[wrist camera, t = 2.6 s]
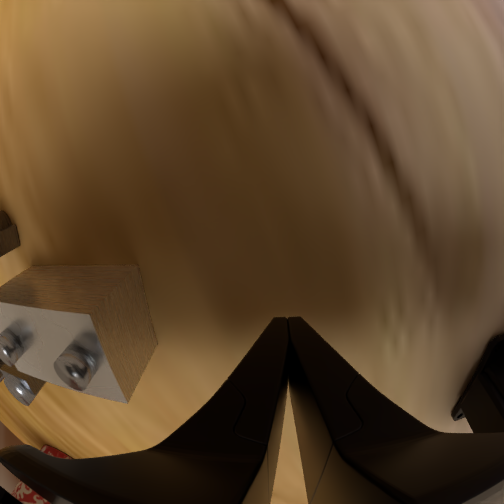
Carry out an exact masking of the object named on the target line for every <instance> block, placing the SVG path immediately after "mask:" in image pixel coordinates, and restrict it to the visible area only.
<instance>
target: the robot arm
mask: <svg viewBox="0 0 504 504" xmlns="http://www.w3.org/2000/svg"><path fill="white" fill-rule="evenodd" d="M288 384H289V391H290V397H291V403H292V408H293V414H294V420H295V426H296V432H297V438H298V443H299V449H300V455H301V461H302V467H303V474H304V480H305V486H306V492H307V498H308V504H504V334H503V335H500V336H497V337H495V338H494V339H493V340H492V341H491V342H490V344H489V345H488V348H487V350H486V352H485V354H484V356H483V358H482V361H481V363H480V365H479V367H478V369H477V371H476V373H475V375H474V377H473V378H472V380H471V382H470V384H469V386H468V388H467V389H466V391H465V393H464V395H463V396H462V398H461V400H460V401H459V403H458V405H457V406H456V408H455V410H454V411H453V413H452V415H451V416H452V418H453V420H454V421H457V420H459V419H462V418H465V417H466V419H467V421H468V423H469V425H470V427H471V429H472V431H473V433H444V432H439V431H437V430H434V429H432V428H430V427H428V426H426V425H425V424H423V423H421V422H420V421H419V420H417V419H416V418H414V417H413V416H412V415H410V414H409V413H407V412H406V411H405V410H403V409H402V408H400V407H399V406H398V405H396V404H395V403H393V402H392V401H391V400H389V399H388V398H387V397H386V396H384V395H383V394H382V393H380V392H379V391H378V390H377V389H376V388H375V387H374V386H372V385H371V384H370V383H369V382H368V381H367V380H366V379H365V378H364V377H363V376H362V375H361V374H358V372H357V371H356V370H355V369H354V368H353V367H352V366H351V365H350V364H349V363H348V362H347V361H346V360H345V359H344V358H343V357H342V356H341V355H340V354H339V353H338V352H337V351H335V350H334V349H333V348H332V347H331V346H330V345H329V344H328V343H327V342H326V341H325V340H324V339H323V338H322V337H321V336H320V335H319V334H318V333H317V332H316V331H315V330H314V329H313V328H312V327H311V326H310V325H309V324H308V323H307V322H306V321H305V320H304V319H303V318H302V317H288V318H286V317H274V318H273V319H272V320H271V322H270V323H269V325H268V326H267V327H266V329H265V330H264V331H263V333H262V334H261V335H260V337H259V338H258V339H257V341H256V342H255V343H254V345H253V346H252V347H251V349H250V350H249V351H248V353H247V354H246V355H245V357H244V358H243V359H242V360H241V362H240V363H239V364H238V366H237V367H236V368H235V370H234V371H233V372H232V373H231V375H230V376H229V377H228V379H227V380H226V381H225V382H224V383H223V385H222V386H221V387H220V388H219V389H218V391H217V392H216V393H215V394H214V395H213V396H212V397H211V399H210V400H209V401H208V402H207V403H206V404H205V405H203V406H202V407H201V408H200V409H199V410H198V411H197V412H196V413H195V414H194V415H193V416H192V417H191V418H189V419H188V420H187V421H186V422H185V423H184V424H183V425H181V426H180V427H179V428H178V429H177V430H176V431H174V432H173V433H172V434H171V435H170V436H169V437H167V438H166V439H165V440H163V441H162V442H161V443H159V444H157V445H156V446H154V447H151V448H149V449H146V450H142V451H137V452H132V453H126V454H119V455H112V456H104V457H96V458H85V459H64V458H58V457H54V456H51V455H48V454H46V453H44V452H42V451H40V450H38V449H36V448H34V447H32V446H30V445H16V446H9V447H5V448H3V449H1V450H0V462H1V463H2V464H3V465H4V466H5V467H6V468H7V469H8V470H9V471H10V472H11V473H12V474H14V475H15V476H16V477H17V478H18V479H20V480H21V481H22V482H23V483H24V484H26V485H27V486H28V487H29V488H31V489H32V490H33V491H35V492H36V493H37V494H39V495H40V496H41V497H43V498H44V499H45V500H47V501H48V502H50V503H51V504H270V502H271V496H272V491H273V485H274V479H275V474H276V468H277V461H278V455H279V449H280V442H281V435H282V428H283V421H284V414H285V406H286V398H287V389H288ZM0 504H23V503H22V502H21V501H19V500H18V499H17V498H15V497H14V496H13V495H11V494H10V493H9V492H7V491H6V490H5V489H4V488H2V487H1V486H0Z"/></svg>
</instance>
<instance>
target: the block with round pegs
mask: <svg viewBox="0 0 504 504" xmlns="http://www.w3.org/2000/svg"><path fill="white" fill-rule="evenodd" d="M157 345H158V342H157V339H156V335H155V331H154V328H153V324H152V320H151V317H150V313H149V309H148V305H147V301H146V297H145V292H144V288H143V284H142V279H141V275H140V270H139V265H56V266H31V267H29V268H28V269H26V270H24V271H23V272H21V273H20V274H18V275H17V276H15V277H14V278H13V279H11V280H10V281H8V282H7V283H5V284H4V285H2V286H1V287H0V359H1V360H2V361H3V362H4V363H5V364H7V365H8V366H10V367H12V366H13V365H15V366H16V368H17V370H18V371H20V372H23V373H25V374H28V375H30V376H33V377H35V378H38V379H41V380H44V381H47V382H49V383H52V384H55V385H58V386H62V387H65V388H68V389H71V390H75V391H78V392H82V393H85V394H89V395H93V396H97V397H101V398H105V399H109V400H113V401H118V402H122V403H127V404H128V402H129V400H130V398H131V396H132V394H133V392H134V390H135V388H136V386H137V384H138V382H139V380H140V378H141V376H142V374H143V372H144V370H145V368H146V366H147V364H148V362H149V360H150V358H151V356H152V354H153V353H154V351H155V349H156V347H157Z"/></svg>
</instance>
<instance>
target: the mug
mask: <svg viewBox="0 0 504 504" xmlns="http://www.w3.org/2000/svg"><path fill="white" fill-rule="evenodd" d="M40 451H42V452H44V453H46V454H48V455H51V456H54V457H58V458H64V459H72V458H71V457H69V456H68V455H66V454H64V453H63V452H61V451H59V450H57V449H55V448H53V447H51V446H47V445H44V446H43V447H42V449H41V450H40ZM11 495H13V496H14V497H15V498H17V499H18V500H19V501H21V502H22V503H23V504H51V503H50V502H48V501H47V500H45V499H44V498H43V497H41V496H40V495H39V494H37V493H36V492H35V491H33V490H32V489H31V488H29V487H28V486H27V485H26V484H24V483H23V482H22V481H21V480H20V482H19V483H18V485H17V486H16V488H15V489H14V491H13V492H12V494H11Z"/></svg>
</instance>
